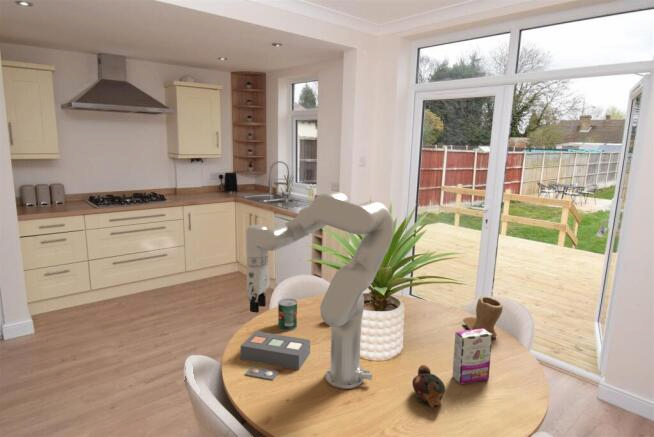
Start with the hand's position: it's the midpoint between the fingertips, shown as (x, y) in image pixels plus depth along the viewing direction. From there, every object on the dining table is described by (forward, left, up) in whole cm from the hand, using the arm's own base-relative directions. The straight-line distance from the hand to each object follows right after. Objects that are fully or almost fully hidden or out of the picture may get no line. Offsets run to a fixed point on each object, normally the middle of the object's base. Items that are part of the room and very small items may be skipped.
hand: (257, 308), depth 146 cm
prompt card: (-7, +12, -17) cm, 22 cm away
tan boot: (-81, -45, -18) cm, 95 cm away
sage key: (-7, 0, -14) cm, 16 cm away
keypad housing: (-7, 0, -17) cm, 19 cm away
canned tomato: (-2, -24, -18) cm, 30 cm away
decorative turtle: (-61, +9, -18) cm, 64 cm away
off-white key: (-14, 0, -14) cm, 20 cm away
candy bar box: (-74, -7, -18) cm, 76 cm away
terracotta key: (0, 0, -14) cm, 14 cm away
